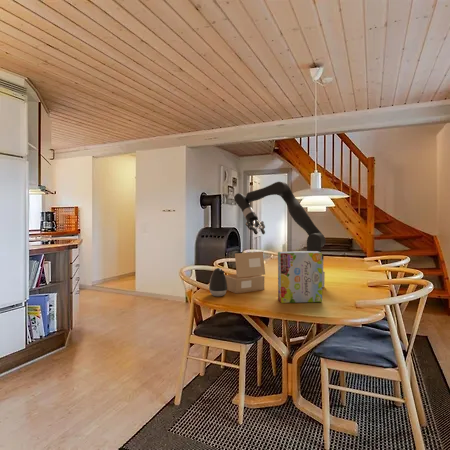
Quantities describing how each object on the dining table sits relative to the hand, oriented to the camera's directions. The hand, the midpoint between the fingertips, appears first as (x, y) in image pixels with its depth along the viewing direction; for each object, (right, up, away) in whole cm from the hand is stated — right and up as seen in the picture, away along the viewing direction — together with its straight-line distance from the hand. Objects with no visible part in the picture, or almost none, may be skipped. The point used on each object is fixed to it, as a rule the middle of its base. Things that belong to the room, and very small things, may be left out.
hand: (260, 233), depth 220 cm
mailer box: (-12, -33, -20) cm, 40 cm away
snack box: (+15, -34, -47) cm, 60 cm away
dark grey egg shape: (-27, -34, -36) cm, 56 cm away
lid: (-9, -17, -26) cm, 32 cm away
